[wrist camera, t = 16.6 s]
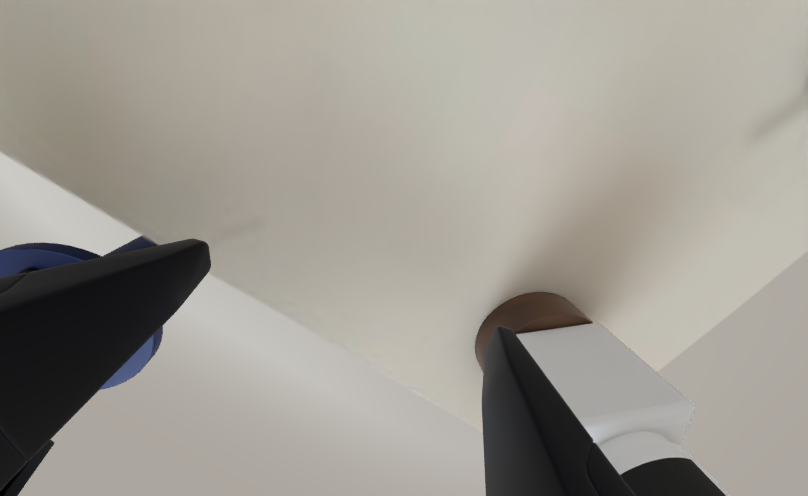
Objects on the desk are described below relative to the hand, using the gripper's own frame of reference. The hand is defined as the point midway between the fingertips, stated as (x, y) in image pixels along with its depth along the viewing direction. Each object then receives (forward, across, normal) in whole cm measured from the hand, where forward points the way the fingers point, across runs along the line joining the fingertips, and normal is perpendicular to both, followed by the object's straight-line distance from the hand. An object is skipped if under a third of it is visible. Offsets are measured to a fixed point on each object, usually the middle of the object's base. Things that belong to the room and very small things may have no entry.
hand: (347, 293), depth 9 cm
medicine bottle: (+10, -13, +11) cm, 20 cm away
